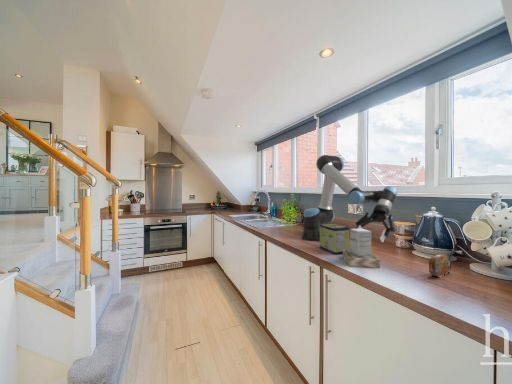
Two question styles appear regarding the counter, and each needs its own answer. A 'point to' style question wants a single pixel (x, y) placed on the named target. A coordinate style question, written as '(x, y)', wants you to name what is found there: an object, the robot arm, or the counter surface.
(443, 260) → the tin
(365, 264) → the brown shallow tray
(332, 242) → the protein box
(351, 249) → the supplement box
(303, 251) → the counter surface
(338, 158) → the robot arm
